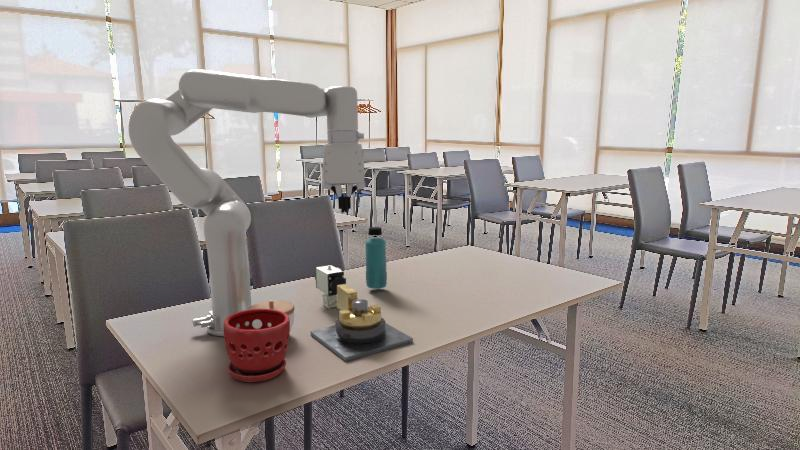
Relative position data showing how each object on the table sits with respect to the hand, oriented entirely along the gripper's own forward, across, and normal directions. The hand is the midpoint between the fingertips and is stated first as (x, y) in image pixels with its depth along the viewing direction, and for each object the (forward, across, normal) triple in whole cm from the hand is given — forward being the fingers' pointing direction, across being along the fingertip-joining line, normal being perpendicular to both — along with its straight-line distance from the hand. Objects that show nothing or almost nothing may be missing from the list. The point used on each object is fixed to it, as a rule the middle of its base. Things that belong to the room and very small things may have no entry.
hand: (344, 211), depth 131 cm
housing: (+29, -4, +12) cm, 32 cm away
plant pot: (+29, +17, +28) cm, 44 cm away
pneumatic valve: (+29, +5, -12) cm, 32 cm away
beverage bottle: (+29, -7, -26) cm, 40 cm away
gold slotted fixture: (+25, -2, +9) cm, 26 cm away
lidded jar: (+29, +18, +10) cm, 35 cm away
